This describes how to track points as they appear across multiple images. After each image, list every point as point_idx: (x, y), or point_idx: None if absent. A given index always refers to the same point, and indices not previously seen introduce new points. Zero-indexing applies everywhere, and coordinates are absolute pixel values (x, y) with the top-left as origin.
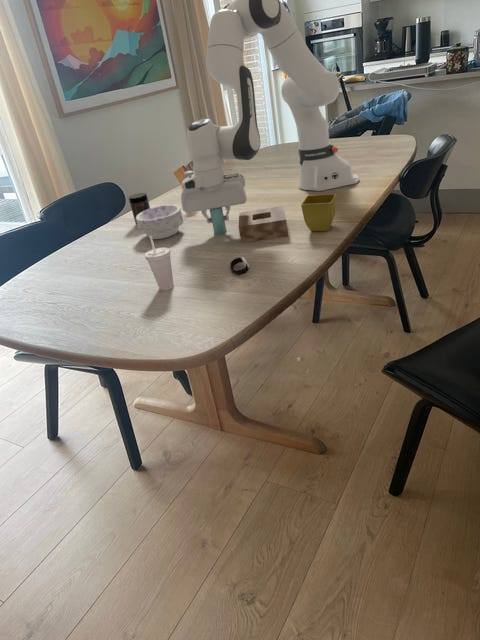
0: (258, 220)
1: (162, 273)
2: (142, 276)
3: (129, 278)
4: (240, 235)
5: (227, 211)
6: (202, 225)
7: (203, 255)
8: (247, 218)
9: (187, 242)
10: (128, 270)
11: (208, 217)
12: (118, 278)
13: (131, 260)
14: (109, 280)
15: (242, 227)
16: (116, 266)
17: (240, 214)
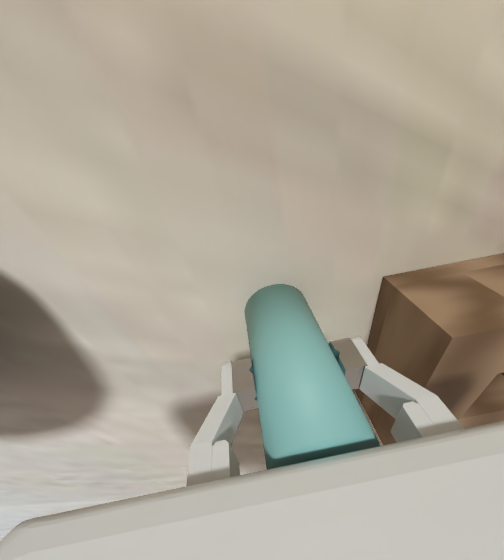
0: (476, 421)
1: None
2: (143, 489)
3: (115, 495)
4: (371, 418)
5: (390, 411)
6: (79, 149)
7: (254, 437)
8: (450, 406)
9: (149, 382)
10: (75, 484)
11: (241, 408)
12: (84, 498)
13: (18, 463)
14: (67, 503)
15: None
16: (3, 481)
17: (445, 363)
